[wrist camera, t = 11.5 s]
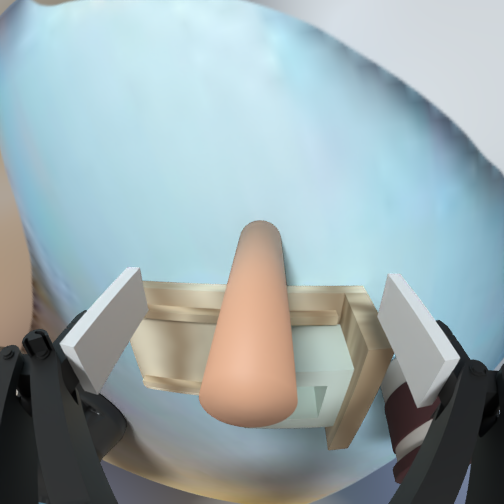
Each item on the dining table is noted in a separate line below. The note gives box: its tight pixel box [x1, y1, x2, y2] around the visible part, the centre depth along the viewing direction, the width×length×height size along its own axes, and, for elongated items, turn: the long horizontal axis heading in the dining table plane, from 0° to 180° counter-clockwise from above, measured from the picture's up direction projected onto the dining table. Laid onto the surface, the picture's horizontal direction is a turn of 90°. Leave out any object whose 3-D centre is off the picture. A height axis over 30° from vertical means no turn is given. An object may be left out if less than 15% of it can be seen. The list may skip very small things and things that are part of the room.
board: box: [130, 281, 394, 450], centre depth 22 cm, size 22×14×8 cm, turn 90°
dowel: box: [199, 220, 298, 428], centre depth 15 cm, size 3×3×15 cm
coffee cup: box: [380, 358, 472, 484], centre depth 20 cm, size 10×10×15 cm
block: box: [245, 324, 354, 429], centre depth 22 cm, size 8×8×6 cm
